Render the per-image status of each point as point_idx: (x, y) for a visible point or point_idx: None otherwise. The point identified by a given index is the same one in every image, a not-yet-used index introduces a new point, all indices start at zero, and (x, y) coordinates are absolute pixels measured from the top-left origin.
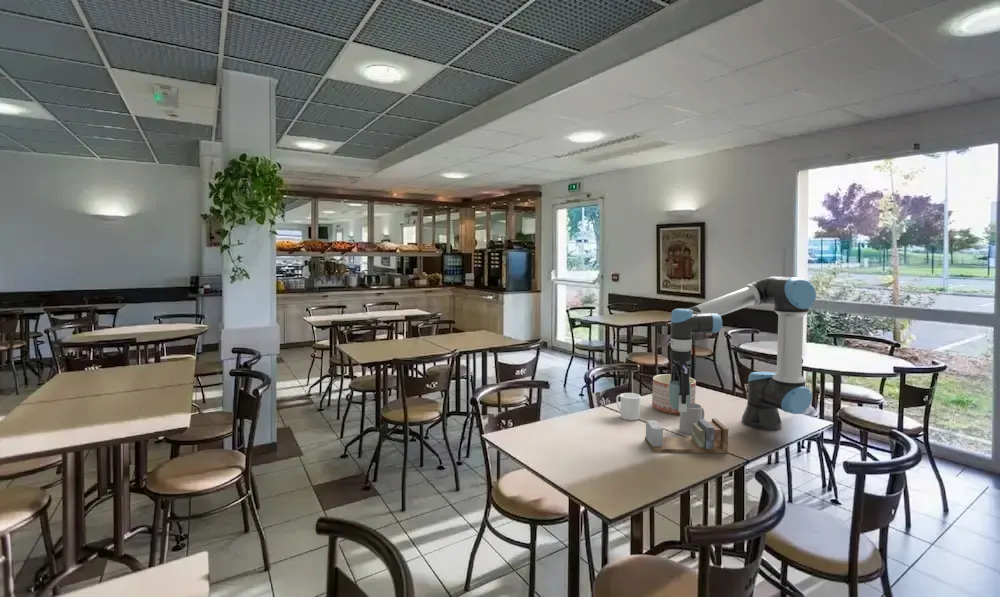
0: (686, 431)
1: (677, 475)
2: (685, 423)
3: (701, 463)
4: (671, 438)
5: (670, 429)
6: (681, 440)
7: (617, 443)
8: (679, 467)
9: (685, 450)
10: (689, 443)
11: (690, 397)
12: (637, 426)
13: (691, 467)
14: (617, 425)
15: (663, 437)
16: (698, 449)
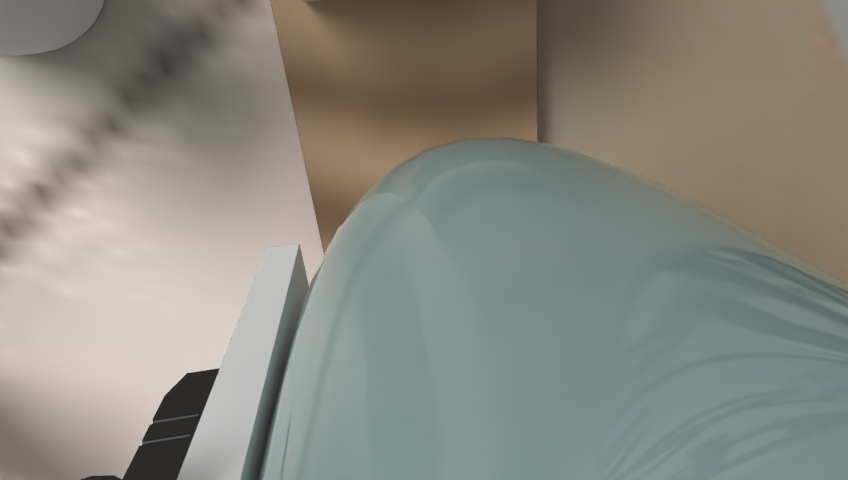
0: (96, 5)
1: (822, 212)
2: (44, 15)
3: (701, 35)
4: (334, 175)
5: (43, 132)
6: (360, 105)
7: None
8: (737, 185)
9: (535, 109)
10: (415, 52)
11: (631, 174)
12: (84, 358)
13: (747, 116)
14: (120, 461)
15: (325, 228)
16: (532, 6)
